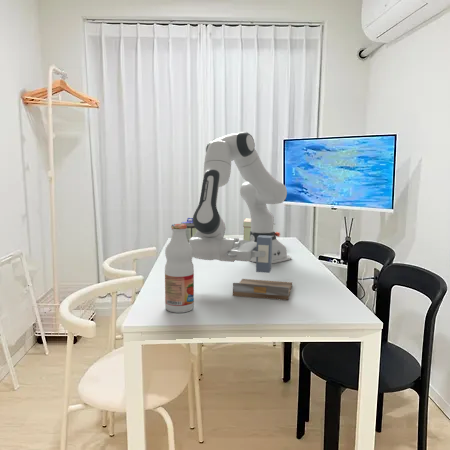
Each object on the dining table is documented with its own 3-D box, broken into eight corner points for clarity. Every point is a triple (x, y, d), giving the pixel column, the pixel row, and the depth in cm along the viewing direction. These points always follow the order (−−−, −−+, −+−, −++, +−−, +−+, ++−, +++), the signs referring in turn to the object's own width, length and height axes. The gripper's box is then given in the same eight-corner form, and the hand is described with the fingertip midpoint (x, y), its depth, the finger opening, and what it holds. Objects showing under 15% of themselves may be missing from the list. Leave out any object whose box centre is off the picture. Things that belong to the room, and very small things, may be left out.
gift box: (276, 248, 242) (276, 218, 240) (242, 248, 242) (243, 217, 240) (273, 243, 259) (273, 214, 256) (242, 242, 259) (242, 214, 257)
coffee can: (185, 247, 243) (185, 222, 241) (202, 249, 240) (202, 223, 238) (177, 251, 233) (177, 225, 231) (195, 252, 230) (195, 226, 228)
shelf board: (242, 282, 175) (242, 271, 174) (292, 286, 171) (292, 274, 170) (232, 295, 157) (232, 283, 157) (287, 300, 153) (288, 288, 152)
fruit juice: (164, 304, 147) (163, 223, 143) (191, 303, 149) (191, 222, 145) (166, 314, 138) (165, 227, 134) (195, 312, 140) (195, 226, 136)
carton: (258, 268, 166) (259, 235, 164) (271, 269, 165) (272, 235, 163) (255, 272, 161) (256, 237, 159) (269, 273, 160) (270, 238, 158)
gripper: (223, 246, 154) (262, 249, 151) (235, 237, 174) (270, 239, 171) (223, 264, 155) (262, 266, 152) (235, 252, 175) (269, 255, 172)
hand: (266, 252), depth 162 cm, fingers closed on carton, 5 cm apart
